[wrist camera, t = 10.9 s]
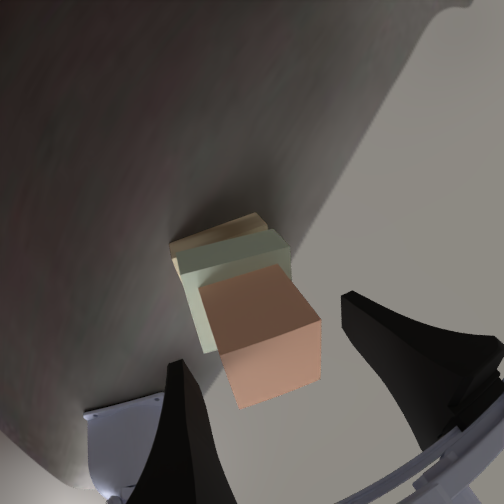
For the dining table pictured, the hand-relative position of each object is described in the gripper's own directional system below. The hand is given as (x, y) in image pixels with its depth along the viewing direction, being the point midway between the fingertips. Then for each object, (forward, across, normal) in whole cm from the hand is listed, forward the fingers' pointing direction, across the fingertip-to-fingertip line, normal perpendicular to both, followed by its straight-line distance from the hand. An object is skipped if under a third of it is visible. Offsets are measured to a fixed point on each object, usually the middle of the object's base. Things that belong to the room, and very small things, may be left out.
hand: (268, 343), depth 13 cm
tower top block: (+7, 0, +2) cm, 7 cm away
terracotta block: (+5, 0, +2) cm, 5 cm away
